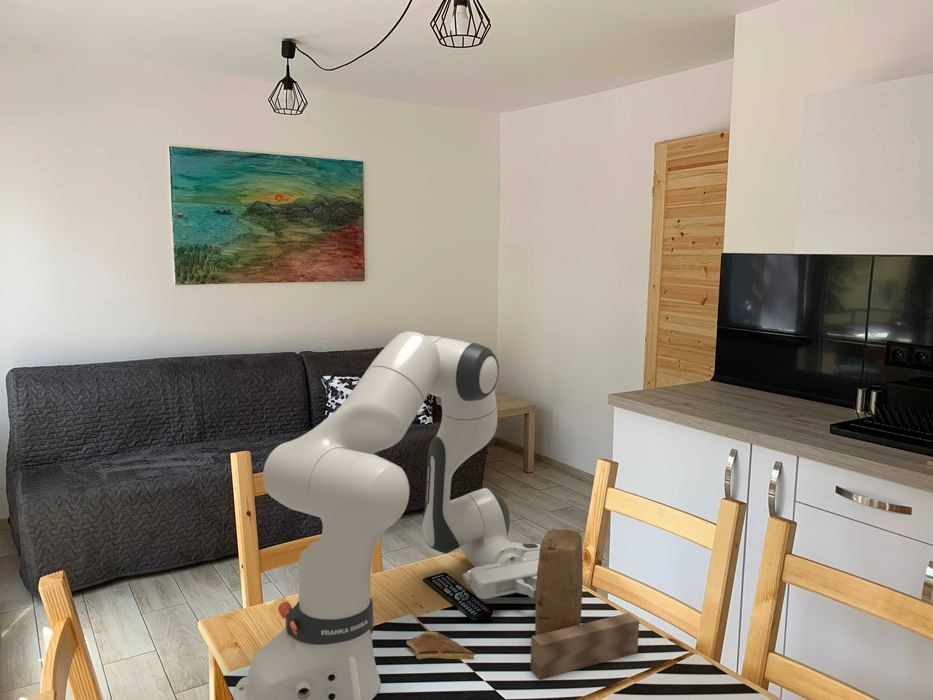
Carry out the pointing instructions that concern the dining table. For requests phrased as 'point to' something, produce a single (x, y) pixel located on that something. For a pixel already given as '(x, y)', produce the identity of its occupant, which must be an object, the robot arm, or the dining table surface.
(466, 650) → the brown flat angular piece
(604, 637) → the board
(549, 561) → the weathered terracotta carving
